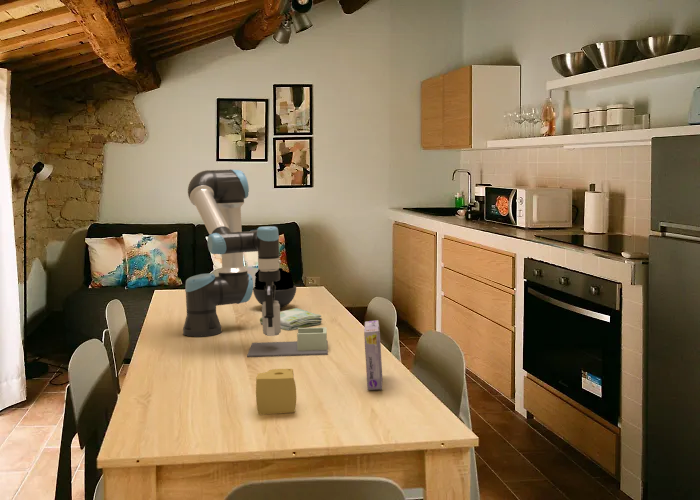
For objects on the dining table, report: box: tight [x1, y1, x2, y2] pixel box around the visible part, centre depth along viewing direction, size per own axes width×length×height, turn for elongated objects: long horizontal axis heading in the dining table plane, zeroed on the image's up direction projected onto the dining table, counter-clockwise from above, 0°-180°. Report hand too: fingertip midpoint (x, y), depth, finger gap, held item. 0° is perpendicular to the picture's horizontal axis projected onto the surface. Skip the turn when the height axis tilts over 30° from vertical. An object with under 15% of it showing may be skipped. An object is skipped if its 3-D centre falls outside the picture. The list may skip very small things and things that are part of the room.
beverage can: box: [261, 300, 282, 336], centre depth 286 cm, size 6×6×12 cm
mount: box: [246, 326, 329, 358], centre depth 287 cm, size 20×28×7 cm
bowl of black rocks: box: [252, 267, 297, 309], centre depth 369 cm, size 20×20×19 cm
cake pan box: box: [363, 319, 383, 391], centre depth 241 cm, size 19×5×18 cm, turn 178°
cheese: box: [255, 368, 297, 416], centre depth 218 cm, size 10×11×10 cm
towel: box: [259, 307, 323, 331], centre depth 333 cm, size 18×21×5 cm
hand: (271, 333), depth 287 cm, fingers closed on beverage can, 6 cm apart
